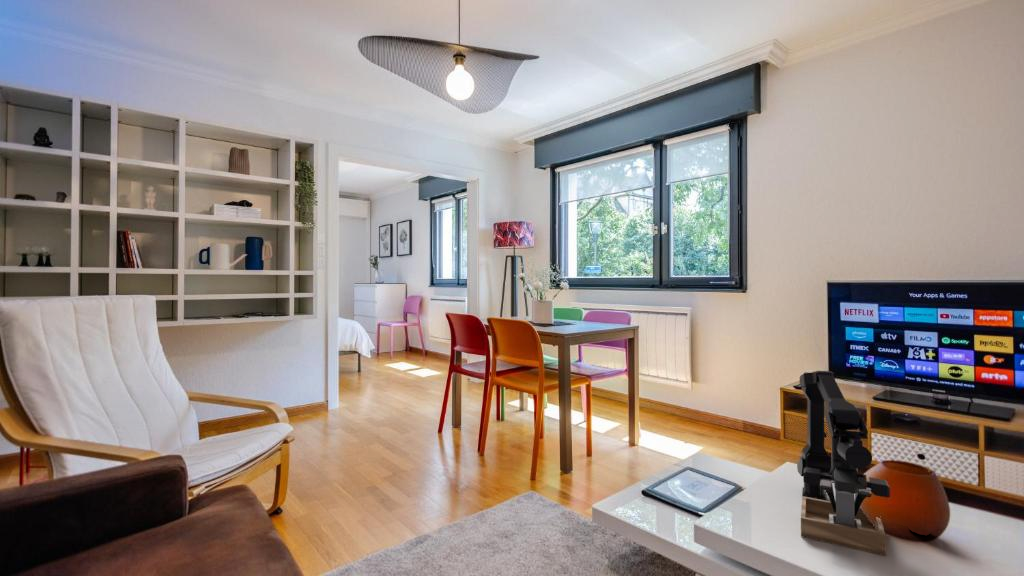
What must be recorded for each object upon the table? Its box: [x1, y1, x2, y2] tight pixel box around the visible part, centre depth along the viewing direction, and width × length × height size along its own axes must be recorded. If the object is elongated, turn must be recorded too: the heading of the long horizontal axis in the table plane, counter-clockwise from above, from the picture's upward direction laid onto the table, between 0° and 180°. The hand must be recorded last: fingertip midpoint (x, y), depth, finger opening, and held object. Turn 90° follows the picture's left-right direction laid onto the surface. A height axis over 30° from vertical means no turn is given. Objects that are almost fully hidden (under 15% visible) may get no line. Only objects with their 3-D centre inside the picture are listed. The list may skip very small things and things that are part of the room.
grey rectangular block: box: [834, 488, 855, 526], centre depth 128 cm, size 4×4×8 cm
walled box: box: [800, 495, 887, 557], centre depth 130 cm, size 16×18×5 cm
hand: (844, 513), depth 128 cm, fingers closed on grey rectangular block, 4 cm apart
